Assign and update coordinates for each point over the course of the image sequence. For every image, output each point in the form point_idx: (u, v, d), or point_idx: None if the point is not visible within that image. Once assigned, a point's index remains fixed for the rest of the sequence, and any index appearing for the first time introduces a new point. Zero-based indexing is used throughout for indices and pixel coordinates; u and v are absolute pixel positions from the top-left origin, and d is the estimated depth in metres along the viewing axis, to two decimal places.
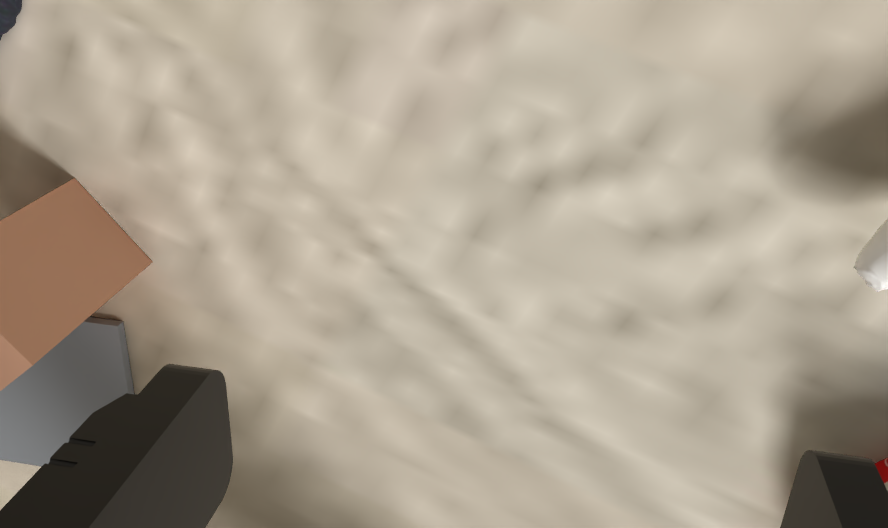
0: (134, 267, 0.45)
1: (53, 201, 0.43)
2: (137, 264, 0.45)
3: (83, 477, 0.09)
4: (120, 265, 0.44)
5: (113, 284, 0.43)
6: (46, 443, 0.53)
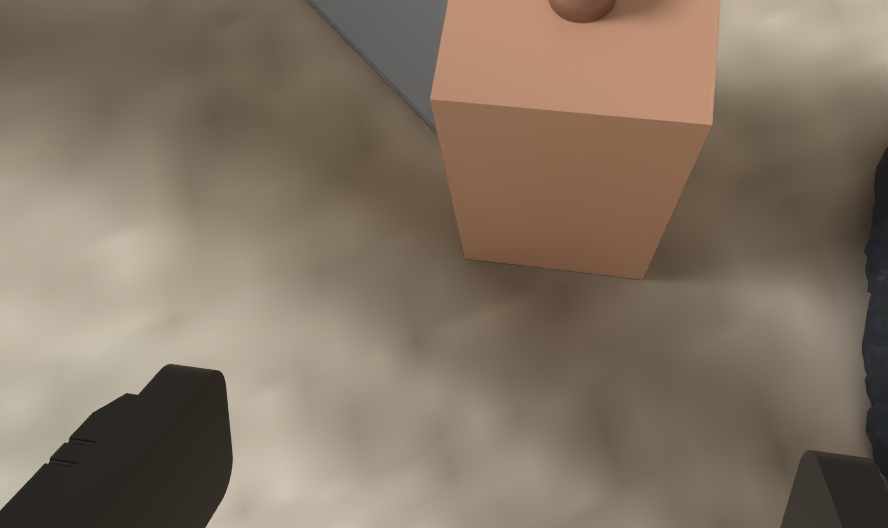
0: (473, 245, 0.27)
1: (637, 253, 0.25)
2: (474, 249, 0.28)
3: (83, 477, 0.09)
4: (490, 240, 0.26)
5: (470, 222, 0.25)
6: None
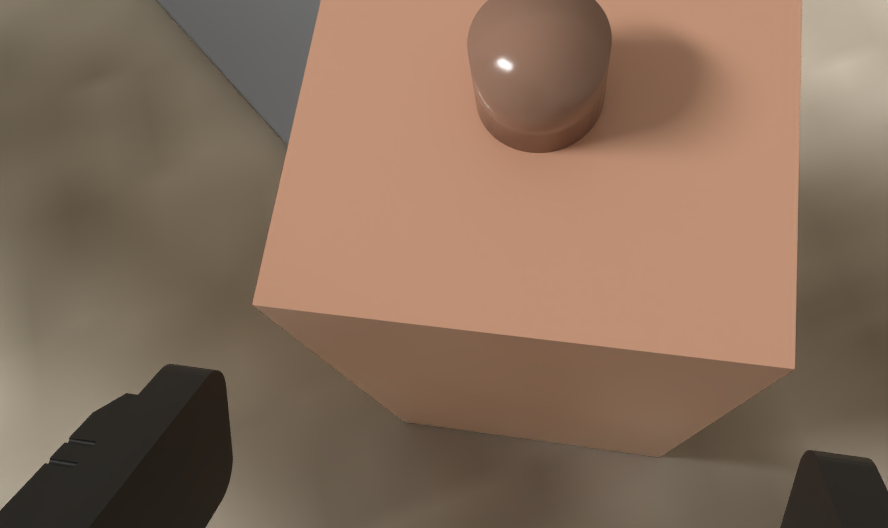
0: (411, 416, 0.19)
1: (650, 443, 0.17)
2: (414, 418, 0.19)
3: (83, 477, 0.09)
4: (431, 415, 0.18)
5: (396, 402, 0.17)
6: None
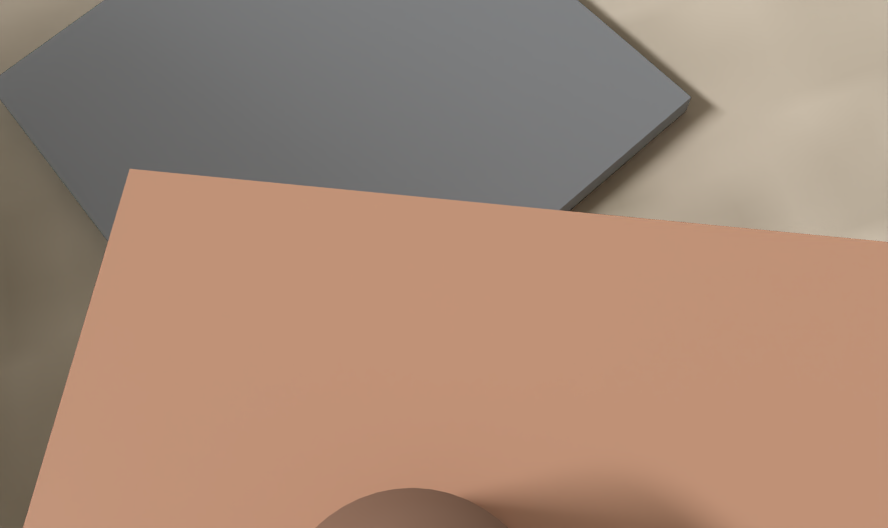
0: None
1: None
2: None
3: None
4: None
5: None
6: None
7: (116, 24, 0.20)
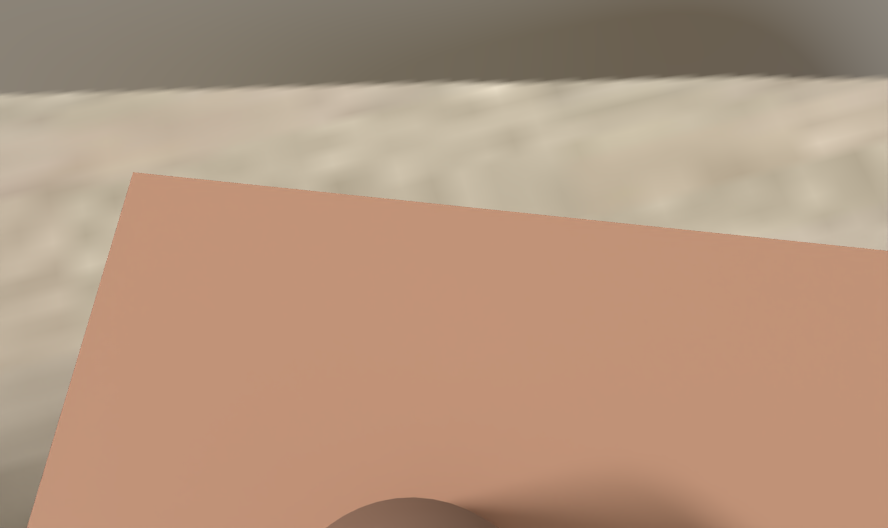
0: None
1: None
2: None
3: None
4: None
5: None
6: None
7: None
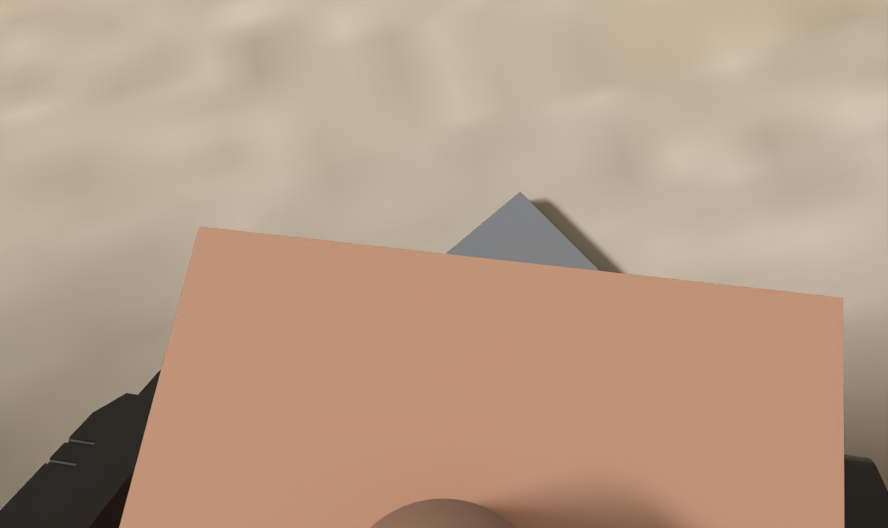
0: None
1: None
2: None
3: (83, 477, 0.09)
4: None
5: None
6: None
7: None
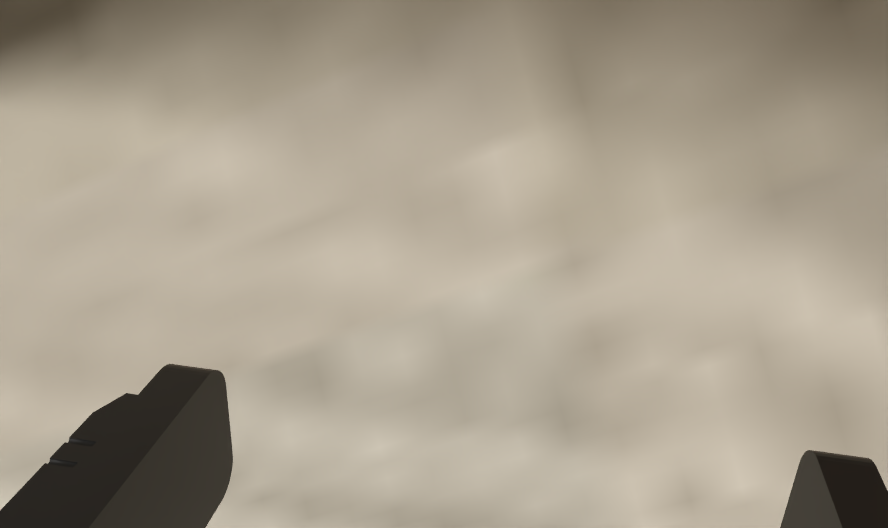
0: None
1: None
2: None
3: (83, 477, 0.09)
4: None
5: None
6: None
7: None
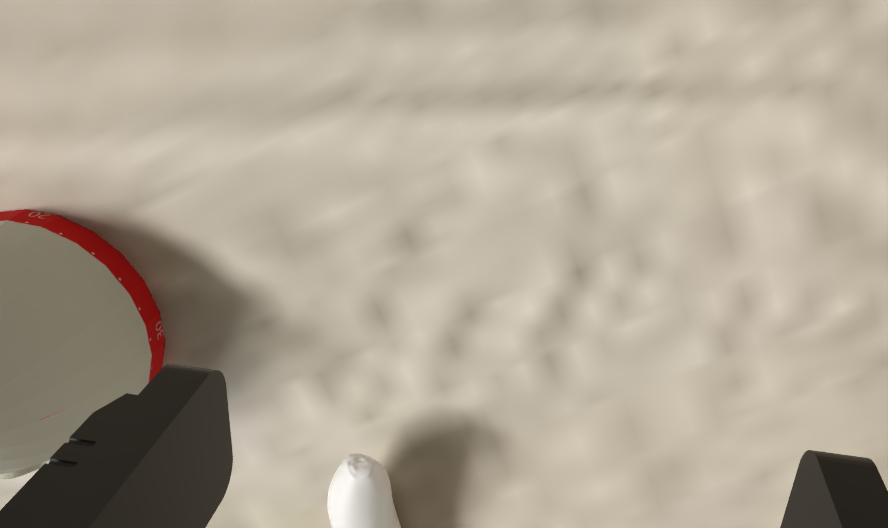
0: None
1: None
2: None
3: (83, 477, 0.09)
4: None
5: None
6: None
7: None
